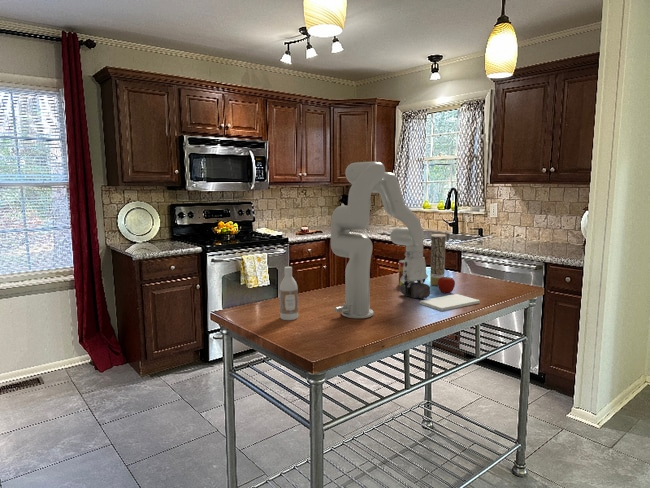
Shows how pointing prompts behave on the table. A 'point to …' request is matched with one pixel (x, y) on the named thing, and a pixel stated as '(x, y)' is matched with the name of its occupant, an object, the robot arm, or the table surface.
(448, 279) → the apple
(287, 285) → the bath foam
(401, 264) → the canned food
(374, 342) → the table surface
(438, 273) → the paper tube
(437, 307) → the cream board
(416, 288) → the perforated stone tool
